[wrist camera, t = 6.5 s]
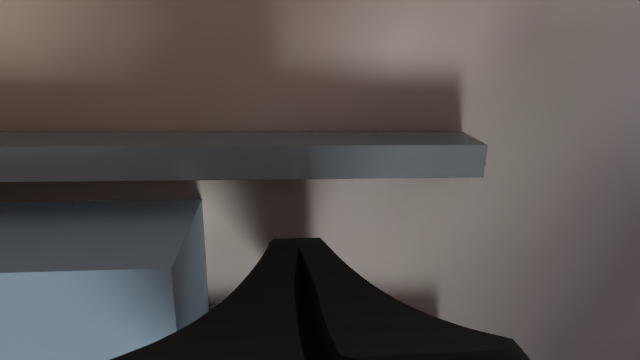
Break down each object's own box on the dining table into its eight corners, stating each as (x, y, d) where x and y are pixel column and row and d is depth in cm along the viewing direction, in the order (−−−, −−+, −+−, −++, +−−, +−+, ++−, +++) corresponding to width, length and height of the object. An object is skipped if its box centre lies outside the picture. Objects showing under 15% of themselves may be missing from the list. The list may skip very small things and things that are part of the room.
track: (462, 132, 12) (618, 214, 7) (436, 349, 14) (537, 548, 9) (-379, 132, 10) (-1146, 247, 5) (-262, 382, 12) (-692, 661, 7)
